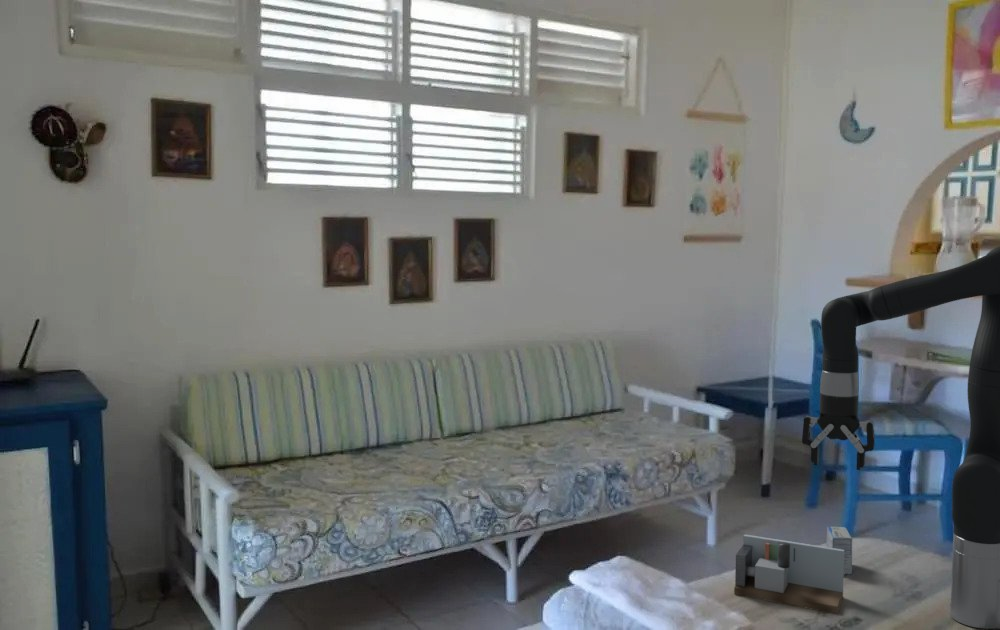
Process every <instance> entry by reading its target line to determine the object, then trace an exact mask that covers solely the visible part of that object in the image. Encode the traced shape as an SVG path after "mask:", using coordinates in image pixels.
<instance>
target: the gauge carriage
mask: <svg viewBox="0 0 1000 630" xmlns="http://www.w3.org/2000/svg"><path fill="white" fill-rule="evenodd" d="M789 567H790V544H789V543H787V542H779V543H778V561H776V560H770V543H766V544H765V559H764V558H760V559H759V560H758V562H757V563H756V565H755V567H749V566H748V569H747V576H751V577H755V588H758V589H763V590H768V591H774V592H779V593H784V591H785V589H786V587H787V585H788V568H789Z"/></svg>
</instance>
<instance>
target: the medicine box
mask: <svg viewBox="0 0 1000 630" xmlns="http://www.w3.org/2000/svg"><path fill="white" fill-rule="evenodd" d="M826 547H829V548H836V549H842V550H844V573H845V574H844V575H850V574H851V575H852V574H853V537H852V536H851V534H850V533H849V531H848V528H847V527H844V526H827V527H826Z"/></svg>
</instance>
